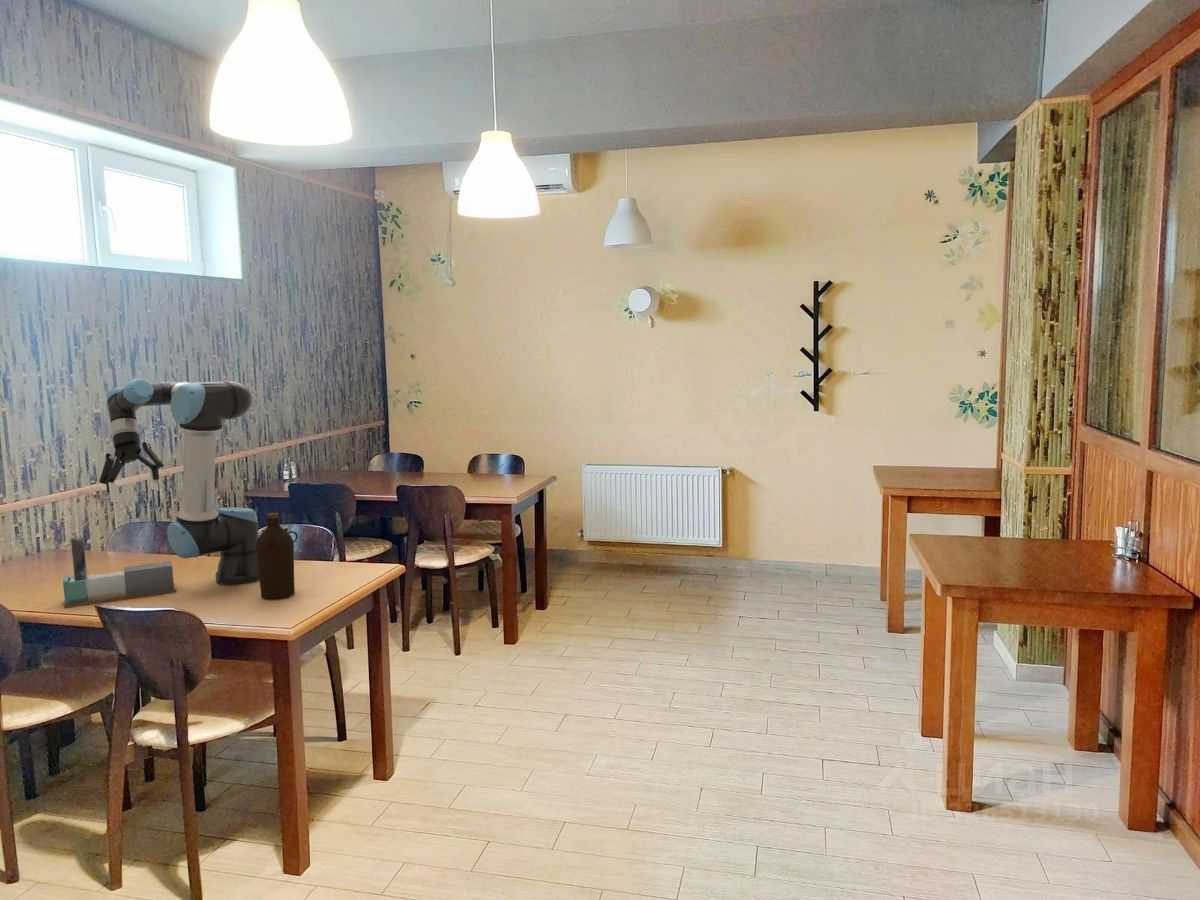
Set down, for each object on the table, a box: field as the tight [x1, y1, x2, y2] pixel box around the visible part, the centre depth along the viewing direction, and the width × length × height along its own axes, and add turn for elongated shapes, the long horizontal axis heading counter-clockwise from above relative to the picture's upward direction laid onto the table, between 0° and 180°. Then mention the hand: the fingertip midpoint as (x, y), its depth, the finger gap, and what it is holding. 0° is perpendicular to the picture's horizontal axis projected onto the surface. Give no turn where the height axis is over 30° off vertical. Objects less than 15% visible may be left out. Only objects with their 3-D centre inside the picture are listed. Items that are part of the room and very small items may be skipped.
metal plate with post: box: [70, 536, 126, 596], centre depth 250 cm, size 16×5×17 cm, turn 120°
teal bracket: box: [62, 574, 88, 604], centre depth 247 cm, size 6×7×6 cm
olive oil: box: [256, 512, 296, 601], centre depth 249 cm, size 11×11×25 cm
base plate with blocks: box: [63, 560, 177, 609], centre depth 253 cm, size 29×10×8 cm, turn 121°
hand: (135, 496), depth 268 cm, fingers open, 13 cm apart
